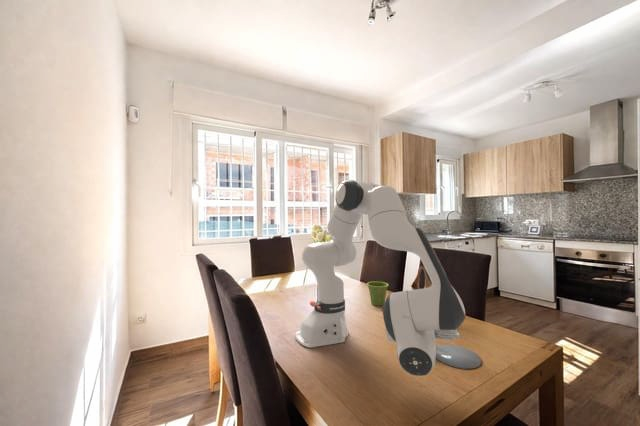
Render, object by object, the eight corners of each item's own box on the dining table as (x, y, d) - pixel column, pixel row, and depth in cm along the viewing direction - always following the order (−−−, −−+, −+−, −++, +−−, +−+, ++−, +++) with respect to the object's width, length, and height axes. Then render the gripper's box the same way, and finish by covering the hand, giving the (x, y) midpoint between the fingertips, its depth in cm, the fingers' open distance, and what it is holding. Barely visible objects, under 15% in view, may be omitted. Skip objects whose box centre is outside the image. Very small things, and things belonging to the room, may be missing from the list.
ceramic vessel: (422, 326, 116) (421, 270, 117) (404, 320, 124) (403, 267, 124) (441, 317, 126) (440, 265, 127) (424, 312, 134) (423, 263, 134)
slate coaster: (462, 374, 81) (462, 372, 81) (423, 352, 95) (423, 350, 95) (490, 361, 88) (490, 359, 88) (450, 342, 101) (450, 341, 101)
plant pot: (391, 307, 141) (390, 286, 141) (369, 307, 141) (368, 286, 141) (386, 300, 152) (385, 281, 153) (365, 300, 153) (365, 281, 153)
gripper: (460, 326, 68) (455, 309, 81) (380, 317, 76) (387, 302, 89) (460, 351, 68) (455, 329, 81) (381, 339, 76) (388, 321, 89)
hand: (419, 315), depth 85 cm, fingers open, 8 cm apart
